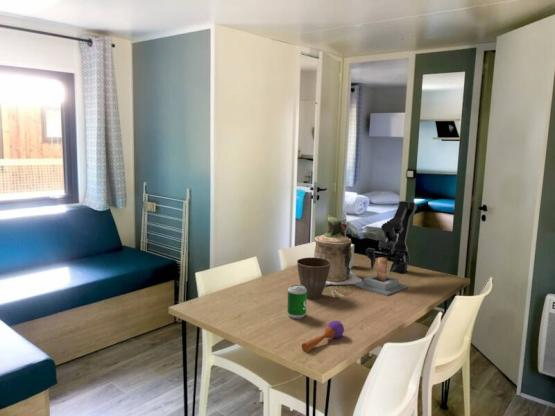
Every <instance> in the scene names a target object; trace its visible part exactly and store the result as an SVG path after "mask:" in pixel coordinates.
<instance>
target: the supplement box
mask: <svg viewBox="0 0 555 416" xmlns="http://www.w3.org/2000/svg"><path fill="white" fill-rule="evenodd" d="M354 252H355V244H353V243H352V244H351V253H352V254H351V255H352V257H351V260H350V263H349V268H350V270H351V268H353V267H354V254H355V253H354Z"/></svg>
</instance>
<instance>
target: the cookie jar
mask: <svg viewBox="0 0 555 416" xmlns="http://www.w3.org/2000/svg"><path fill="white" fill-rule="evenodd" d="M326 219H327V226H328V231H327V232H325V233H324V234H322V235H316V236H315V237H314V239H313V240H314V242H315V246H314V252H313V254H314V255H313V258H322V259H326V260H328V261H330V263H331V264H330V269H329V274H328V278H327V281H326V284H325V286H328V285H330V286H331V285H332V286H339V285H340V286H343V285H355V284H357V283H360V282H363V279H362V278H360V277H359V276H357V275H356V274H355V273H353V272H352V271H351V269H350V268H349V263H350V260H351V257H352V255H351V254H352V253H351V244H353V242H352V239H351V238H349V237H348V236H346V234H345V232H344V231H347V227H348V224H347V223H345V222H342V220H341V219H340V218H338V217H333V216H331V215H327V218H326Z"/></svg>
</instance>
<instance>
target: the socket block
mask: <svg viewBox="0 0 555 416" xmlns="http://www.w3.org/2000/svg"><path fill="white" fill-rule="evenodd" d="M354 287H356V288H359V289H361V290H362V289H363V290H365V291H369V292H372V293H376V294H379V295H383V296H390V295H392V294H395V293H397V292H400V291H402V290H405V289H407V288H408V285H407V284H404V283H403V284H402V283H400V278H395V277H392V276H388V275H387V276H386V281H385V282H381V281H378V280H377V273H375V274H373V275H370V276H366V277H364V278H363V280H362V282H360V283H357V284H354Z"/></svg>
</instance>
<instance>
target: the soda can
mask: <svg viewBox="0 0 555 416" xmlns="http://www.w3.org/2000/svg"><path fill="white" fill-rule="evenodd" d="M307 299H308V298H307V289H306V288H305V287H304V286H302V285H301V284H292V285H290V286H289V287H288V289H287V306H286V307H287V311H286V313H287V315H288V316H289V317H290V318H291V319H295V320H297V319H298V320H299V319H300V320H301V319H303V318H304V317H305V316H306V315H307Z"/></svg>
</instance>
